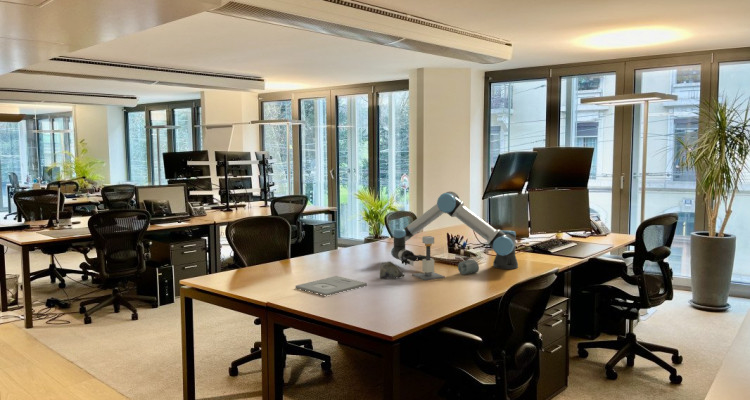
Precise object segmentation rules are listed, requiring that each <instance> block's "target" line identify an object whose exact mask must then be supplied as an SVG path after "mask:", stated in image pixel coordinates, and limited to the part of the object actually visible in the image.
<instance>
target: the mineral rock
mask: <svg viewBox="0 0 750 400" xmlns="http://www.w3.org/2000/svg"><path fill="white" fill-rule="evenodd" d="M379 269H380V270H379V278H380V279H400V278H404V277H406V275H405V273H404V272H403V271H402V270H400V269H399V267H398V266H397V265H396V264H394V263H393V262H391V261H387V262H382V263H381V267H380V268H379Z"/></svg>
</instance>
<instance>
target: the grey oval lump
mask: <svg viewBox="0 0 750 400" xmlns="http://www.w3.org/2000/svg"><path fill="white" fill-rule="evenodd" d="M457 269H458V272H459V274H461V275H462V276H466V275H470V274H476V273H478V272H479V271H480V267H479V263H478V262H477V261H476V260H474V259H467V260H463V261H459V263H458V265H457Z"/></svg>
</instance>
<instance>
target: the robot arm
mask: <svg viewBox="0 0 750 400" xmlns="http://www.w3.org/2000/svg"><path fill="white" fill-rule="evenodd" d="M444 214H447V215H448V216H449V217H451V218H456V219H458V220H459V221H461V222H462V223H463V224H464V225H465V226H467V227H468V228H470V229H471V230H472V231H473V232H475V233H476V234H477V235H478V236H480V237H481V238H482V239H484V240H485V241H486V242H487V245H488V246H489V247H491V248H492V249H493V251H494V253H495V254H496V255H495V257H494V260H493V262H492V263H493V267H494V268H496V269H500V270H514V269H518V267H519V263H518V260H517V256H516V236H517V233H516V230H502V229H500V228H499V229H496V228H494V227H493V226H491V224H489V223H488V222H486V221H485V220H484V219H482V218H481V217H479V216H478V215H477V214H476V213H474V212H473V211H472V210H470V208H468V207H466V206H465V205H464V201H463V200H461V199H460V196H459V195H458V194H457V193H456V192H455V191H446V192H444V193H442V194H440V196H438V198H437V201H436V204H434V205H433V206H432V207H430V209H427V210H426V211H425V212H424V213H423V214H421V215H419V217H417V218H416V219H415V220H414V221H412V222H411V223H409V224H408V225H406V227H404V228H396V229H395V228H394V230H393V247H392V248H391V251H390V253H391V256H392V257H393V258H395V259H396V260H399V261H401V265H402V264H404V266H407V265H409V266H411V267H414V262H419V261H420V262H422V259H426V255H422V254H415V253H414V252H413V251H411V250H408V249H406V242H407V241H409V240H410V239H411V238H412V237H414V236H415V235H416V234H417V233H420V231H422V230H423V229H424V228H426V227H427V226H429V225H430V224H431V223H433V222H434V221H435V220H436V219H438V218H439V217H441V216H442V215H444ZM430 259H432V260H434V261H435V259H434V258H432V256H430Z"/></svg>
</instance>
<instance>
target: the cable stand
mask: <svg viewBox="0 0 750 400" xmlns="http://www.w3.org/2000/svg"><path fill="white" fill-rule="evenodd" d="M421 241H422V244H424V247H425V248H426V249H425V256H426V260H430V257H431V247H432V246H433V244H435V237H434V236H432V235H429V236H428V235H427V236H422V240H421ZM411 276H412V277H415V278H416V279H417V278H418V279H420V280H422V281H429V280H437V279H445V278H446V277H445V276H444V275H442V274H441V273H437V272H435V271H434V272H429V273H426V272H418V273H412V274H411Z"/></svg>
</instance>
